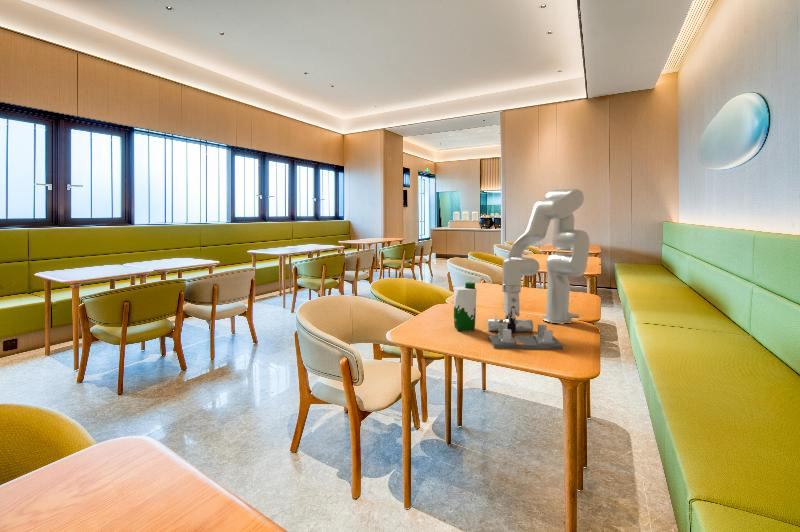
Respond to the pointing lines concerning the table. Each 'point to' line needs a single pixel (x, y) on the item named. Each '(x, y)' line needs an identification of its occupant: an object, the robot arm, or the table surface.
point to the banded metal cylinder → (494, 325)
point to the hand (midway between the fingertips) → (509, 330)
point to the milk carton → (465, 307)
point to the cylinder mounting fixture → (525, 339)
